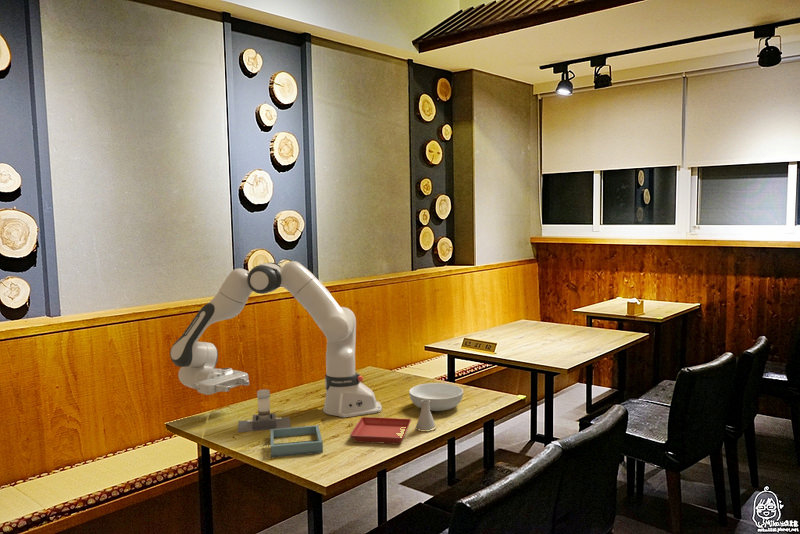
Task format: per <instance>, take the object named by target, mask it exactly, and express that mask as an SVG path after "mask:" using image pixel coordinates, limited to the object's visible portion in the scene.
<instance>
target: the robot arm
mask: <svg viewBox="0 0 800 534" xmlns="http://www.w3.org/2000/svg"><path fill="white" fill-rule="evenodd" d="M279 288H284V289H285V290H286V291H288V292H289V293H290V294H291V295H292V296H293V298H294V299H295V300H296V301H297V302H298V303H299V304H300V305H301V306H302V307H303V309H305V310H306V312H308V314H309V316H311V318H312V319H313V321H314V322H315V324H316V325H317V326H318V327H319V329H320V331H321V332H322V333H323V335H324V336H325V338H326V352H325V367H326V373H325V375H324V376H325V378H324V386H325V400H324V405H323V408H322V413H325V414H327V415H330V416H335V417H336V416H337V417H340V418H350V417H351V418H352V417H356V416H364V415H371V414H376V413H377V412H378V413H380V411H381V412H382V410H383V408H382V407H383V406H382V404H381V402H380V401H378V400H377V399H376V396H375V392H374V391H373V390H372V389H371V388H370V387H368V386H367V385H365V384H364V383H362V382H363V381H364V377H363V376H362V375H361V374H360V373H359V372H356V342H357V340H356V339H357V337H356V336H357V333H356V332H357V319H356V314H355V313H354V311H352V310H351V309H350V308H349V307H345V306H340V305H339V303H338V302H337V301H336V299H335V298H334V297H333V296H332V294H331V292H330V291H329V289H328V288H326V286H325V285H324V284H323V283H322V282H321V281H320V280H319V279H318V278H317V277H316V276H315V275H314V274H313V273H312V272H311V271H310V270H309V269H308V268H307V267H306V266H304V265H303V264H302V263H300V262H299V261H295V260H292V261H289V262H287V263H285V264H284V265H283V266H281V265H279V264H278V263H276V262H267V263H266V262H262V263H260V264H258V265H256V266H254V267H252V268H251V270H250V271H249V270H246V269H244V268H241V267H239V268H234V269H233V270H231V272H230V273H229V274H228V276H227V277H226V278H225V280H224V281H223V283H222V284H221V286H220V288H219V289H218V292H217V293H216V294H215V296H214V297H213V298H212V299H211V300H210V301H209V302H208V303H206V304H204V305H203V306H202V307H201V308H200V309H199V311H198V312H197V313H196V315H195V316H194V317H193V319H192V320H191V322H190V323H189V324H188V326H187V328H186V329H185V331H183V333H182V335H181V336H180V337H179V338H178V339H177V340H176V341H175V342H174V343H173V344H172V346H171V348H170V351H169V356H170V360H171V362H172V363H173V364H174V365H175V366H176V367H179V370H178V380H179V382H180V383H181V384H182V385H184V386H186V387H187V388H191V389H194V390H197V392H198V393H199V394H203V395H206V396H207V395H208V396H209V395H213V394H216V393H219V392H222V393H223V392H226V393H227V392H230V390H231V389H233V388H236V387H239V386H244V387H245V386H249V385H250V380H249V374H248V373H247V372H244V371H240V370H236V369H235V370H234V369H233V368H231V367H224V368H216V366H217V363H218V359H219V351H218V349H217V346H216V345H215V344H214V343H212V342H207V341H199V339H200V338H201V336H202V335H203V334H204V332H205V331H206V329H207V328H209V326H210V325H211V326H212V325H213V324H215V323H217V322H221V321H224V320H231V319H233V318H235V317H237V316H238V315H240V314H241V312H242V310H244V308H245V305H246V304H247V301H248V300H249V298H250V295H251V294H252V293H256V294H261V295H262V294H263V295H265V294H269V293H272V292H274V291H276V290H277V289H279ZM378 413H377V414H378Z"/></svg>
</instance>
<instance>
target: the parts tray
mask: <svg viewBox="0 0 800 534" xmlns="http://www.w3.org/2000/svg"><path fill="white" fill-rule="evenodd" d="M269 431H270V432H269V433H270V434H269V435H270V458H271V459H272V457H273V458H283V457H292V456H293V457H294V456H301V455H302V456H303V455H314V454H323V453H324V449H323V448H324V444H323V439H322V434H321V430H320V426H319V425H317V424H315V425H305V426H304V425H303V426H295V427H294V426H293V427H292V426H291V428H280V429H270V430H269ZM305 435H306V436H307V435H315V437H316V439H315V440H313V439H312V440H306V441H305V440H303V441H292V442H290V441H289V442H282V443H279V442H278V443H275V438H284V437H294V436H305Z"/></svg>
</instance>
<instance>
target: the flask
mask: <svg viewBox="0 0 800 534" xmlns="http://www.w3.org/2000/svg"><path fill="white" fill-rule="evenodd" d="M421 403H422V408H420V413H419V417H418V420H417V422H416V425H415V428H417V429H420V430H430V429H432V428H434V427H435V425H436V423H435V420H434V417H433V415H432V411H430V407H429V403H430V400H421Z"/></svg>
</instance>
